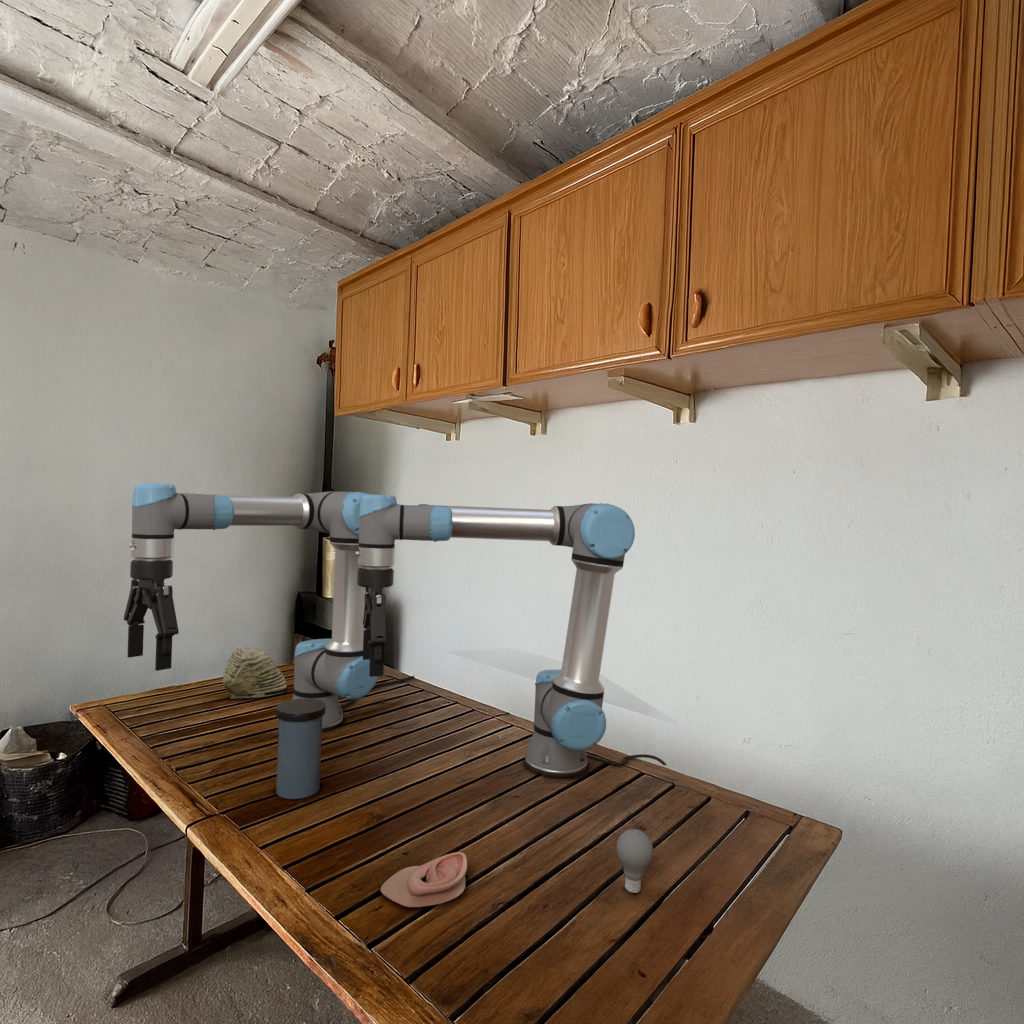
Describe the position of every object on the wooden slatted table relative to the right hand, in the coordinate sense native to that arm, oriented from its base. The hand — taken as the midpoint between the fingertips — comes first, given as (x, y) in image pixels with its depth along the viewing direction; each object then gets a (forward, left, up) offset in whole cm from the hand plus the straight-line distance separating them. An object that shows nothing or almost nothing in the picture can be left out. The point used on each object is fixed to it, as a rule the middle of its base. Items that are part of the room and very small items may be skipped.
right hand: (372, 667), depth 134 cm
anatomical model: (-6, +34, -28) cm, 44 cm away
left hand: (+44, -9, 0) cm, 45 cm away
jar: (+14, -7, -28) cm, 32 cm away
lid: (+14, -7, -10) cm, 18 cm away
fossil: (+28, -76, -28) cm, 85 cm away
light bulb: (-39, +44, -28) cm, 65 cm away
